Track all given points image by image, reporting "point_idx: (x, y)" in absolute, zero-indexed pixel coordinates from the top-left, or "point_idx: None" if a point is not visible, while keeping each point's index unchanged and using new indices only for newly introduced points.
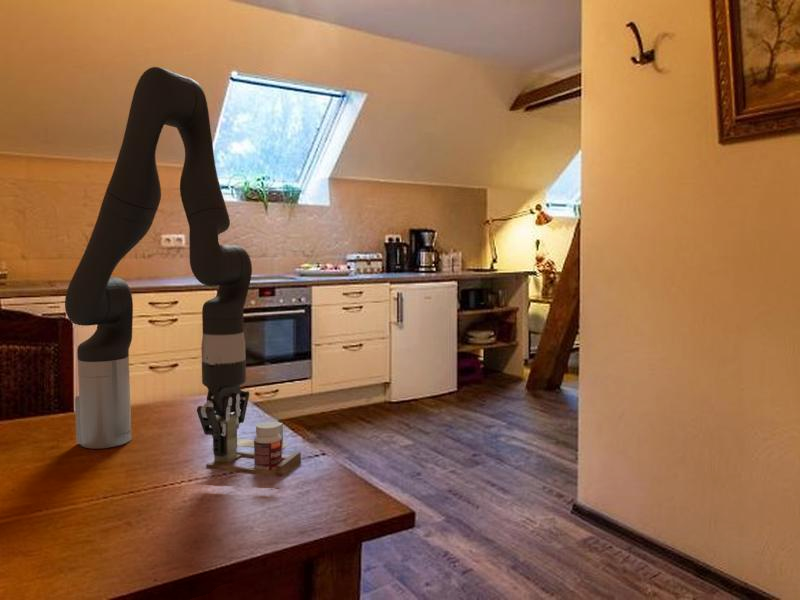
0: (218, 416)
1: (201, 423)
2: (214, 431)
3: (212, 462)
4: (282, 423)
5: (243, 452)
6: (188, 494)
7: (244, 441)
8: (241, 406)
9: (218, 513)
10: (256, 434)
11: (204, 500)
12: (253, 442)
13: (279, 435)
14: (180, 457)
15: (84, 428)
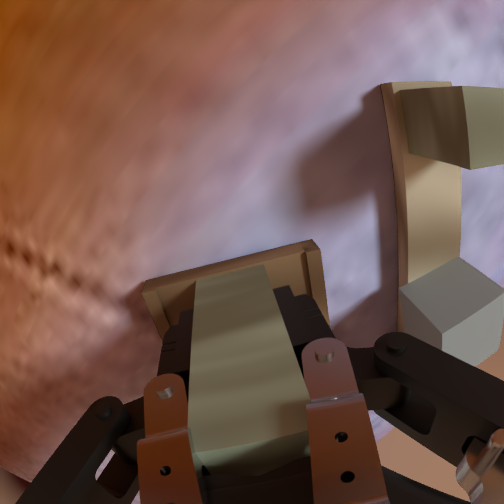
0: (224, 461)
1: (50, 460)
2: (114, 462)
3: (180, 285)
4: (495, 351)
5: (325, 310)
6: (33, 348)
7: (447, 190)
8: (438, 446)
9: (52, 436)
10: (427, 318)
11: (50, 394)
12: (447, 230)
13: None
14: (216, 38)
15: None
